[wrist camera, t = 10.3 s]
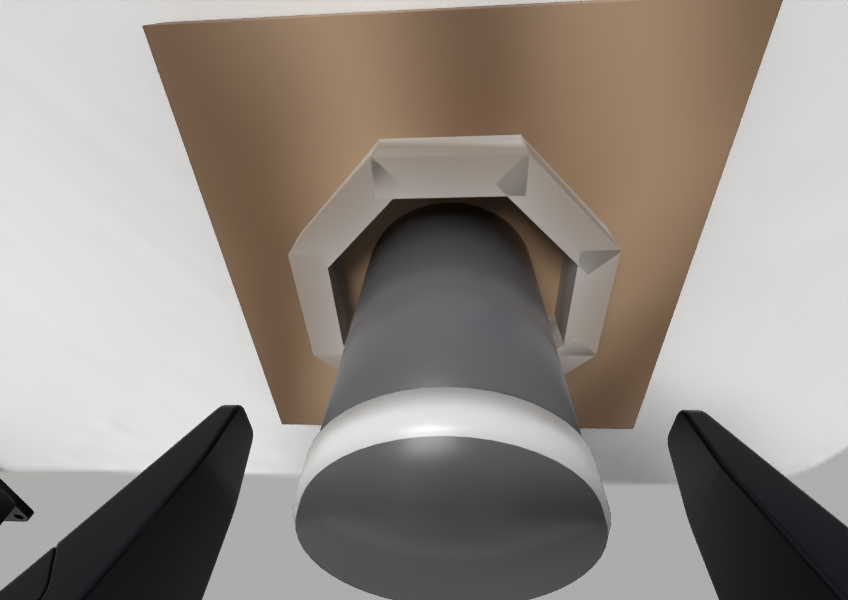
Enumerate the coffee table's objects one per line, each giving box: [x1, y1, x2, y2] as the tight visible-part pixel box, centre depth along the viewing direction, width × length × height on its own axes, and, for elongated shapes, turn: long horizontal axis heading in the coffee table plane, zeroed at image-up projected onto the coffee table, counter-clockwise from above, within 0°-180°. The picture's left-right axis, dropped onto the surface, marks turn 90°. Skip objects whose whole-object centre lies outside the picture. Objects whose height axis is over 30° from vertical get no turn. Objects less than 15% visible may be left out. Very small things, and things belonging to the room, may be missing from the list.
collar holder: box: [143, 0, 783, 429], centre depth 14 cm, size 14×14×2 cm
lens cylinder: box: [293, 202, 611, 600], centre depth 11 cm, size 5×5×8 cm
